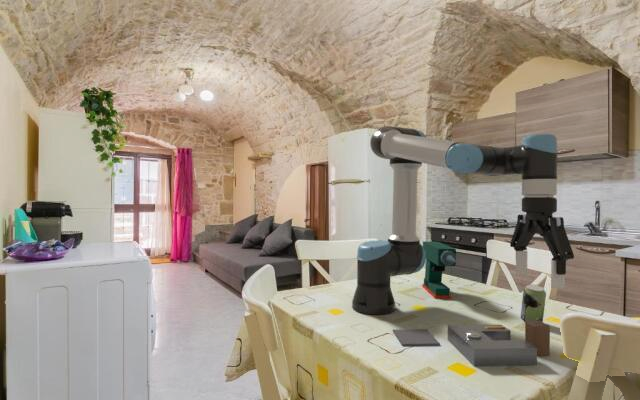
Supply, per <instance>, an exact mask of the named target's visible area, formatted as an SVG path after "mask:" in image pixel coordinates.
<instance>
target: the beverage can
mask: <svg viewBox="0 0 640 400" xmlns="http://www.w3.org/2000/svg"><path fill="white" fill-rule="evenodd" d="M522 292H523V293H522V299H521V309H520V310H521V311H520V319H521V320H522V321H523V322H524V323H525V322H526V321H538V320H539V321H541V322H543V323H544V314H545V305H546V296H547V292H546V290H545V288H544V287H542V286H541V285H539V284H538V285H537V284H532V283H531V284H526V285H525V287H524V288H523V291H522Z"/></svg>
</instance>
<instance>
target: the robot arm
mask: <svg viewBox="0 0 640 400" xmlns="http://www.w3.org/2000/svg"><path fill="white" fill-rule="evenodd" d="M557 141H558V139H557V137H556V136H555V135H554V134H552V133H537V134H535V133H534V134H529V135H526V136H524V137H523V138H522V139H521V144H519V145H516V146H505V147H502V146H501V147H500V146H492V145H491V146H490V145H481V144H474V143H469V142H462V141H461V142H459V141H454V140H453V141H452V140H445V139H440V138H439V139H438V138H433V137H427V135H426V134H425V133H424V132H423V131H420V130H417V129H415V128H407V127H400V126H399V127H397V126H390V125H386V126H382V127H379V128H377V129H376V130H375V131H374V132H373V134H372V135H371V137H370V144H369V145H370V149H371V151H372V153H373V154H374V156H377V157H378V158H379V159H380V158H381V159H384V160H386V159H387V160H389V166H390V167H391V168H392V170H393V180H392V181H393V182H392V183H393V184H392V185H393V187H392V188H393V189H392V190H393V191H392V194H393V195H392V222H391V223H392V224H391V225H392V226H391V234H390V235H389V236H388V237H387V240H383V239H382V240H370V241H366V242H365V241H364V242H362V243H361V244H359V245H358V247H357V255H356V259H357V262H356V263H357V267H356V269H357V272H356V273H357V274H356V279H357V281H356V283H357V284H356V289H355V291H354V294H353V297H352V299H351V303H352V304H351V308H352V309H353V310H354V311H356V312H358V313H362V314H367V315H386V314H391V313H393V312H395V311H396V301H395V298H394V294H393V292H392V288H391V277H397V276H403V275H405V276H407V275H408V276H409V275H412V274H415V273H418V272H421V270H422V269H423V268H424V266H425V265H426V252H425V250H424V249H423V248H424V247H423V244H421V243H420V242H421V239H420V238H419V237H418V235H417V233H416V231H417V229H416V228H417V202H418V201H417V200H418V199H417V197H418V195H417V194H418V170H419V169H420V168H421V167H422V166H423V164H426V165H430V166H435V167H440V168H445V169H450V170H451V171H452V172H454V173H458V174H463V175H464V174H465V175H467V174H477V175H482V176H484V177H485V176H487V177H489V176H490V177H493V176H494V177H498V176H508V175H509V176H510V175H521V195H522V196H523V197H522V198H521V211H522V212H524V213H526V214H518V215H517V217H516V218H517V221H516V225H515V228H514V230H513V234H512V238H511V241H510V243H509V244H510V247H511V248H513V249H514V251H515V275H516V276H528V248H527V247H528V246H529V244H530V242H531V240H532V239H533V237H534V236H535V235H540V237H542V238H543V240H544V241H545V243H546V246H547V247H548V250H549V251H550V253H551V256H552V258H551V259H550V260H551V261H550V262H551V263H550V264H551V265H550V266H551V267H550V272H551V273H550V275H551V276H550V282H551V283H550V288H551V289H566V288H565V286H566V285H565V284H566V283H565V282H566V281H565V280H566V279H565V277H566V274H567V261H568V260H574V258H575V255H574V251H573V248H572V245H571V243H570V240H569V237H568V235H567V232H566V228H565V221H564V217H562V216H553V214H554V213H557V211H558V199H557V198H556V197H554V196H556V195H558V192H557V190H558V189H557V187H558V186H557V185H558V184H557V182H558V181H557V179H558V173H557V172H558V154H559V151H558V142H557Z"/></svg>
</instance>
